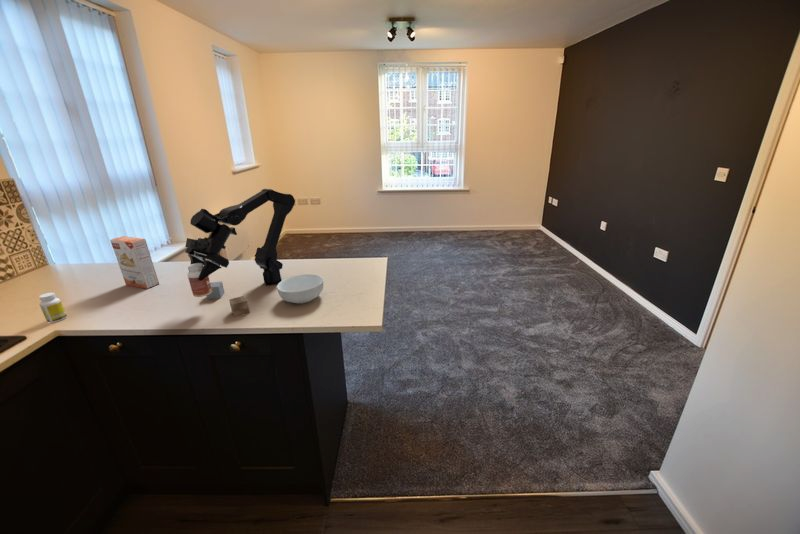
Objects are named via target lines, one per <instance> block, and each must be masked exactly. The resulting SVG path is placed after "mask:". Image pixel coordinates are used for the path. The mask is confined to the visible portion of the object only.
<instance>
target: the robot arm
mask: <svg viewBox="0 0 800 534" xmlns="http://www.w3.org/2000/svg"><path fill="white" fill-rule="evenodd" d="M267 202H271V203H272V207H273V216H272V217H271V218H272V219H271V222H270V225H269V228H268V231H267V233H266V234H267V235H266V237H265V241H264V244H263V245H262V246H261V247H259V246H258V247H257V248H256V251H255V254H254V255H253V256H254V262H255V264H256V265H257V266H258V267H259V268H260V269H262V270H263V272H262V277H263V281H264V282H263V283H265V286H272V285H278V284H279V283H280V282H281V281H282V280H283V279H282V276H281V270H282V269H283V266H284V265H283V263H282V262H281V261H279V260H278V250H277V246H278V243H279V240H280V237H281V233H282V230H283V227H284V223H285V221H286V218H287V216H288V215H289V214H290V213H291V212H292V210H293V208H294V207H295V203H296V199H295V197H294V196H293V195H292V194H291V193H283V192H279V191H276V190H273V189H271V188H262V189H261V190H260V191H259V192H257V193H256V194H254V195H252V196H251V197H249V198H247V199H245V200H244V201H242V202H241V203H238V204H235V205H234V204H233V205H230V206H228V207H225V208H222V209H220V211H219V212H218V213H215V214H212V213H211V212H210V211H208V210H207V209H205V208H201V209H200V210H199V211H197V212H196V213H195V214H193V215H192V217H191V219H190V222H189V223H190V225H191V226H193V227H195V228H196V229H198V230H200V231H202V232H204V233H205V234H209V233H210V234H209V235H208V237H204V238H201V237H199V238H197V239H196V238H195V239H194V238H190V237H189V238H188V237H187V238H186V242H185V248H186V249H185V251H184V253H185V254H187V256H188V257H189V259H190V264H189V265H191V264H195V263H202V264H203V266H204V267H203V269H202V271H201V273H200V275H199V278H198V280H200V281H202V280H203V279H204V278H206V277H207V276H210V275H212V274H213V273H214V272H216V271H218V270H220V269H222V268H228V266H229V265H230V261H229V259H228V258H226V257H224V256H222V255H220V253H221V251H222V250H225V249H226V248H227V246H225V245H226V242H227V241H228V239H229V237H230V235H234V236H237V235H238V233H237V231H236V228H235V227H233V226H238V225H241V223H242V222H243V221H244V220H245V219H246V217H247V215H249V214H250V213H251V212H253V211H254V210H256V209H258V208H260V207H261V206H263V205H264V204H266V203H267ZM221 223H222V224H221ZM228 225H229V226H228ZM230 225H231V227H230ZM189 272H190V271H189V270H188V273H189Z"/></svg>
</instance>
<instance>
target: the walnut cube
mask: <svg viewBox="0 0 800 534" xmlns="http://www.w3.org/2000/svg"><path fill="white" fill-rule="evenodd" d="M228 300H229V305H230V308H231V309H230V310H231V312H232V315H233V316H235V318H237V317H240V316H244V315H246V314H250V308H249V303H248V300H247V299H246V297H245V295H241V296H238V297H234V298H230V299H228ZM243 314H244V315H243ZM236 316H237V317H236Z"/></svg>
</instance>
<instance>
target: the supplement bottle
mask: <svg viewBox="0 0 800 534" xmlns="http://www.w3.org/2000/svg"><path fill="white" fill-rule="evenodd" d="M38 297H39V300H40V303H39V307H40V309H41V312H42V314H43V316H44V318H45V321H46V322H47V323H48V322H54V323H58V322H62V321H63V320H66V318H67V317H68V315H67V313H66V310H65V308H64V306H63V303H62V301H61V299H60V298H58V297H57V296H56V294H55V292H47V293H46V292H45V293H44V294H43V293H42V294H40V295H39V296H38Z"/></svg>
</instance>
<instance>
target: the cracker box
mask: <svg viewBox="0 0 800 534" xmlns="http://www.w3.org/2000/svg"><path fill="white" fill-rule="evenodd" d="M109 240H110V243H111V246H112V249H113V252H114V256H115V258H116V261H117V263H118V266H119V269H120V272H121V274H122V278H123V281H124V283H125V285H127V286H131V287H136V288H141V289H145V290H148V289H150V287H151V288H153V287H155V286H157V285H159V284H160V281H159V279H158V275H157V272H156V270H155V267H154V266H155V265H154V263H153V260H152V256H151V253H150V250H149V246H148V243H147V240H146V239H145V238H141V237H133V236H124V235H123V236H120V237H116V238H115V237H114V238H112V239H109Z"/></svg>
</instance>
